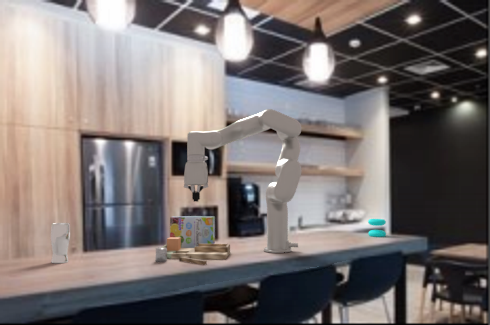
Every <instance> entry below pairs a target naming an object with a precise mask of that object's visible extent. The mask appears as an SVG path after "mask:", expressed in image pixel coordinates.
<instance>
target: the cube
mask: <svg viewBox="0 0 490 325" xmlns="http://www.w3.org/2000/svg"><path fill="white" fill-rule="evenodd" d="M166 244H167V250H171V251H178V250H180V249H181V237H170V236H169V237H168V238H166Z"/></svg>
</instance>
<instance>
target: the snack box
mask: <svg viewBox="0 0 490 325" xmlns="http://www.w3.org/2000/svg"><path fill="white" fill-rule="evenodd" d="M215 219H216V217H215V216H211V215H210V216H203V215H202V216H201V215H197V216H196V215H191V216H190V215H188V216H186V215H185V216H179V215H178V216H170V220H169V225H170V226H169V229H170V230H169V237H181V248H195V247H199V244H216V242H215V240H216V237H215V236H216V232H215V230H216V229H215V228H216V222H215V221H216V220H215Z"/></svg>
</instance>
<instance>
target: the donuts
mask: <svg viewBox="0 0 490 325" xmlns="http://www.w3.org/2000/svg"><path fill="white" fill-rule="evenodd" d="M367 222H368V224H369V225H370V226H375V227H382V226H385V225H386V223H387V221H386V220H385V219H383V218H369V219H368V221H367ZM368 236H369V237H374V238H384V237H386V236H387V233H386V231H385V230H383V229H371V230H369V231H368Z"/></svg>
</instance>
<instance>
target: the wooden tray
mask: <svg viewBox="0 0 490 325" xmlns="http://www.w3.org/2000/svg"><path fill="white" fill-rule="evenodd" d="M159 248H167V243H166V244H164V245H163V246H160V247H159ZM230 254H231V243H215V244H199V247H195V248H181V249H180V250H178V251H171V250H167V260H168V259H172V260H174V259H175V260H176V259H177V260H179V257H183V256H191V258H193V259H199V260H226V259H228V257H229V256H230ZM227 256H228V257H227Z"/></svg>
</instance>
